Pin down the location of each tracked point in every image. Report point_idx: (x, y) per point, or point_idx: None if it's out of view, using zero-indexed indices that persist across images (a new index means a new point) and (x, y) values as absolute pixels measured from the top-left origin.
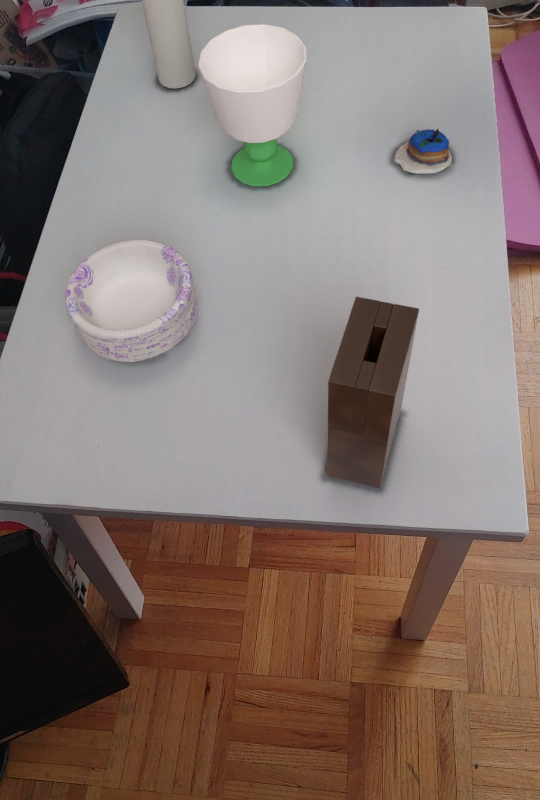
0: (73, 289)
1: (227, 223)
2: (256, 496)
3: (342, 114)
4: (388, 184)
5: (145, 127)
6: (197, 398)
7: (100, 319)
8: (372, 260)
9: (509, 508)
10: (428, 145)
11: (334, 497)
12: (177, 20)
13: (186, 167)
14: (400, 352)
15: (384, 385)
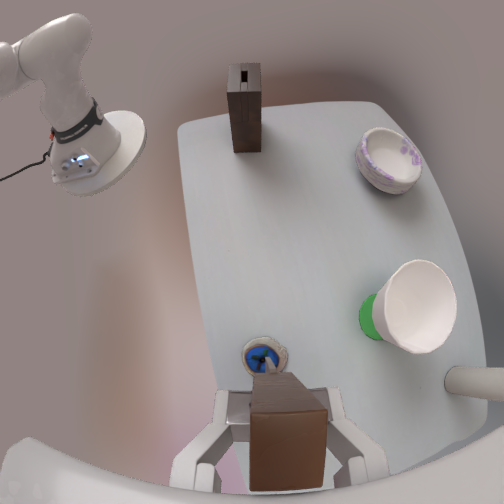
0: (413, 150)
1: (379, 255)
2: (286, 110)
3: None
4: (284, 323)
5: (455, 325)
6: (334, 141)
7: (396, 153)
8: (276, 246)
9: (180, 129)
10: (261, 351)
11: None
12: (474, 378)
13: None
14: (231, 75)
15: (235, 65)
